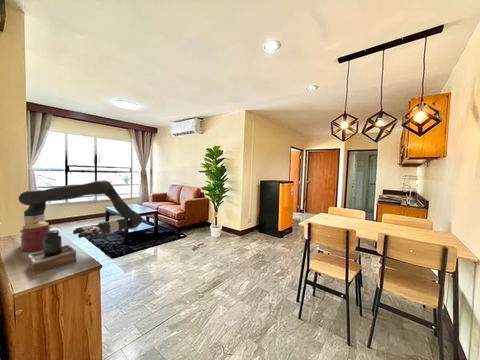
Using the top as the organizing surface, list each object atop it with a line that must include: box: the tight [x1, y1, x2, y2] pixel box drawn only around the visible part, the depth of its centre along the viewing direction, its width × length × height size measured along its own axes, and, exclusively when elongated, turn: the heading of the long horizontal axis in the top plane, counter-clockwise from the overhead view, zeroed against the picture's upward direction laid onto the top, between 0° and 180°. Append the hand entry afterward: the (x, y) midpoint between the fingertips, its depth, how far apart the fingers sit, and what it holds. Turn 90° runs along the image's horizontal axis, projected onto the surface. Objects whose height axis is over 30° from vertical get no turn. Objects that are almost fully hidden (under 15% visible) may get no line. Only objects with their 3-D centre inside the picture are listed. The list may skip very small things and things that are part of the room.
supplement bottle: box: [43, 229, 63, 257], centre depth 104 cm, size 7×7×12 cm
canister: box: [19, 219, 52, 253], centre depth 121 cm, size 13×13×18 cm
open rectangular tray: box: [27, 244, 77, 275], centre depth 104 cm, size 12×16×6 cm
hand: (75, 234), depth 111 cm, fingers open, 8 cm apart
